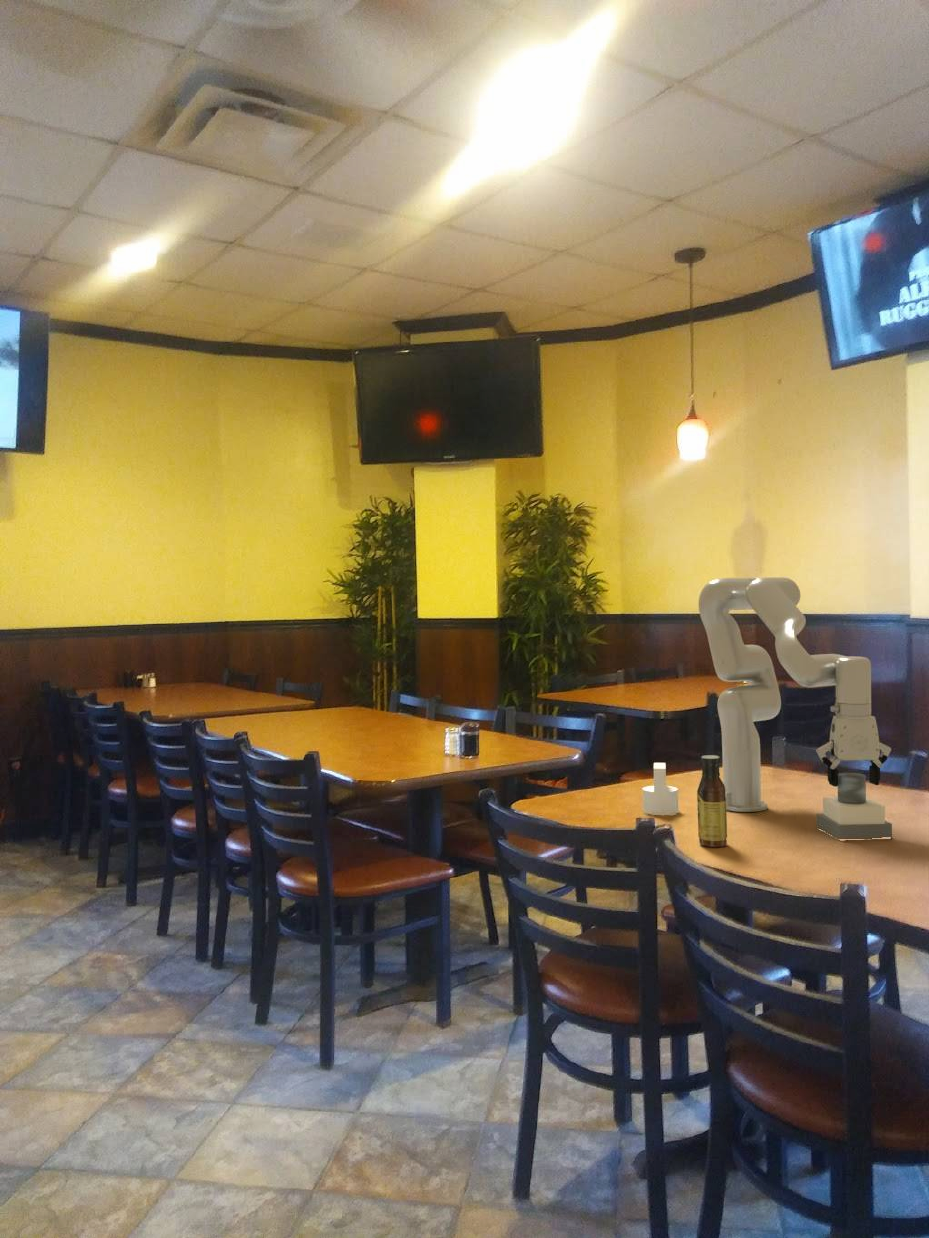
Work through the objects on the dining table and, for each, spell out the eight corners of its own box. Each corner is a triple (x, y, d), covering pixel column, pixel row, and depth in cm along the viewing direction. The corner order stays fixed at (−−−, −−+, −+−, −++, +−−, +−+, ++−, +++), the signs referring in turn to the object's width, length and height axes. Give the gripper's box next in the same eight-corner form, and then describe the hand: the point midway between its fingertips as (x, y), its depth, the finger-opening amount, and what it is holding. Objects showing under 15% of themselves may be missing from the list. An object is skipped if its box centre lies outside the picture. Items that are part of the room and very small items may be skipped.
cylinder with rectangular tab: (678, 816, 242) (677, 768, 242) (642, 815, 244) (641, 768, 244) (678, 808, 251) (677, 762, 251) (643, 807, 253) (642, 762, 252)
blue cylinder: (845, 804, 217) (845, 778, 216) (833, 799, 223) (832, 773, 222) (871, 803, 217) (870, 777, 217) (857, 797, 223) (857, 772, 223)
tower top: (840, 824, 215) (840, 806, 215) (823, 814, 225) (823, 797, 225) (884, 823, 215) (884, 806, 215) (865, 813, 225) (865, 796, 225)
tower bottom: (840, 843, 214) (839, 825, 214) (816, 830, 226) (816, 813, 226) (892, 841, 215) (891, 823, 215) (866, 828, 227) (865, 811, 227)
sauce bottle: (706, 839, 218) (704, 752, 218) (732, 843, 214) (730, 755, 214) (693, 846, 213) (691, 756, 213) (719, 850, 209) (717, 759, 209)
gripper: (824, 713, 215) (824, 789, 216) (898, 711, 217) (898, 786, 217) (809, 709, 223) (810, 782, 223) (881, 707, 224) (881, 780, 225)
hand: (853, 784), depth 220 cm, fingers open, 9 cm apart
